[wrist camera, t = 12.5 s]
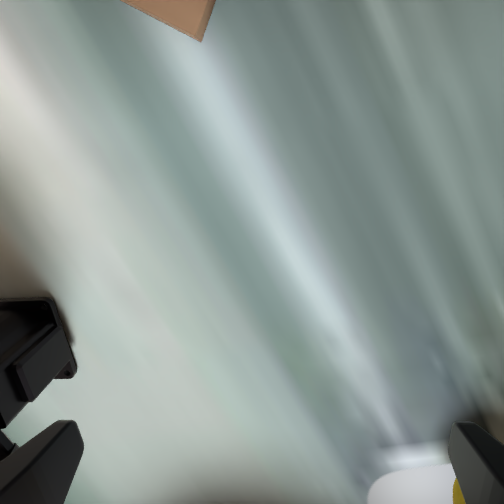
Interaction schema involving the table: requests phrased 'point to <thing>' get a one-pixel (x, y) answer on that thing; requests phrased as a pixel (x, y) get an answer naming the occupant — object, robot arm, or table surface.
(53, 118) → the table surface
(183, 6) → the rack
